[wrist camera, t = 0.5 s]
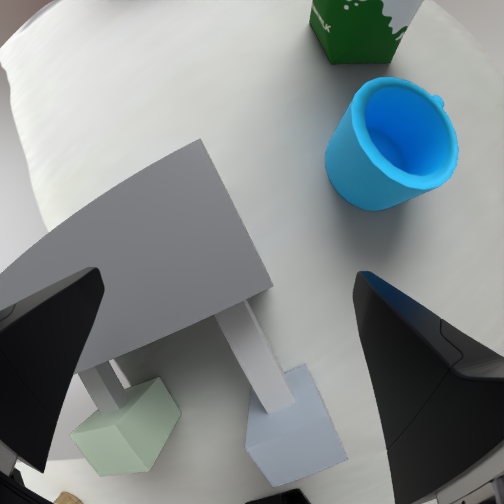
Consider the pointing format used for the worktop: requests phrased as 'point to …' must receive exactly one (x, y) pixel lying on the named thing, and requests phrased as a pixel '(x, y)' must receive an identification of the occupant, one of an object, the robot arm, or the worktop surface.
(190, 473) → the worktop surface
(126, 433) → the green key
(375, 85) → the mug
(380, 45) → the milk carton
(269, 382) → the grey key
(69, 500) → the sprinkles bottle
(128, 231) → the grey curved block
